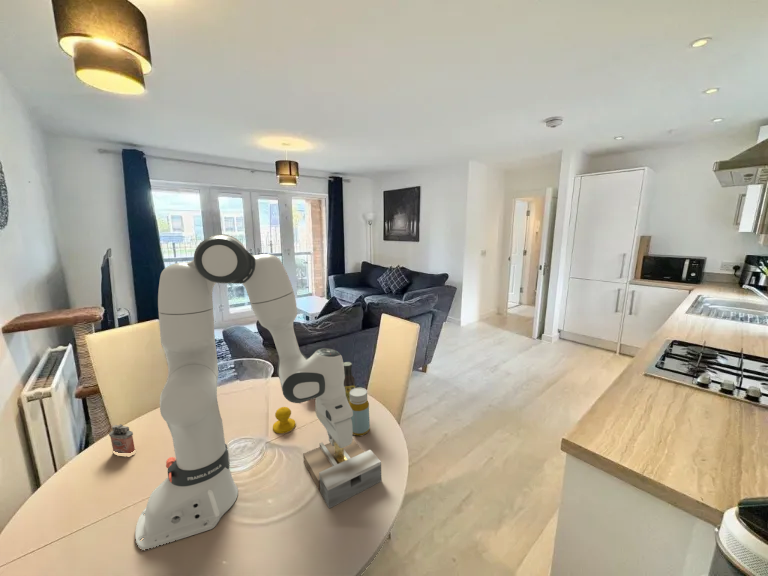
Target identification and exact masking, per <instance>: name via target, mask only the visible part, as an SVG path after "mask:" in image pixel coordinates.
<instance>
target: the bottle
mask: <svg viewBox="0 0 768 576" xmlns="http://www.w3.org/2000/svg"><path fill="white" fill-rule="evenodd" d="M349 405H350V407H351V408H352V410H353V416H352V417H350V418H351V420H352V430H353V435H354V436H357V437H358V436H359V437H360V436H361V437H362V436H365V435H367V433H368V432H369V431H370V403H369V399H368V390H367V389H366V388H364V387H355V388H354V389H352V390H351V391H350V403H349Z"/></svg>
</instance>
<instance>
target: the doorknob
mask: <svg viewBox="0 0 768 576" xmlns="http://www.w3.org/2000/svg"><path fill="white" fill-rule="evenodd" d="M291 415H292V410H291V409H290V407H288V406H281V407H279V408H278V409H277V410H276V411H275V414H274V416H275V418H276V420H277V421H275V422H274V423H273V425H272V431H273V432H274V433H276V434H279V435H280V434H287V433H289V432H291V431H293V430H294V429H295V428H296V426H297V425H296V420H295V419H293V418H291Z"/></svg>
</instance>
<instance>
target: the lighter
mask: <svg viewBox="0 0 768 576" xmlns="http://www.w3.org/2000/svg"><path fill="white" fill-rule="evenodd" d="M111 429H112V430H111V431H109V433H108V436H109V437H110V443H111V447H112V452H113V451H115V452H118V453H131V452H133V451H134V450H136V448H135V442H134V437H133V435H134V433H133V431H131V430H130V427H129V426H127V425H123V424H121V423H120V424H118V425H117V424H114V425H112V426H111Z"/></svg>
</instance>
